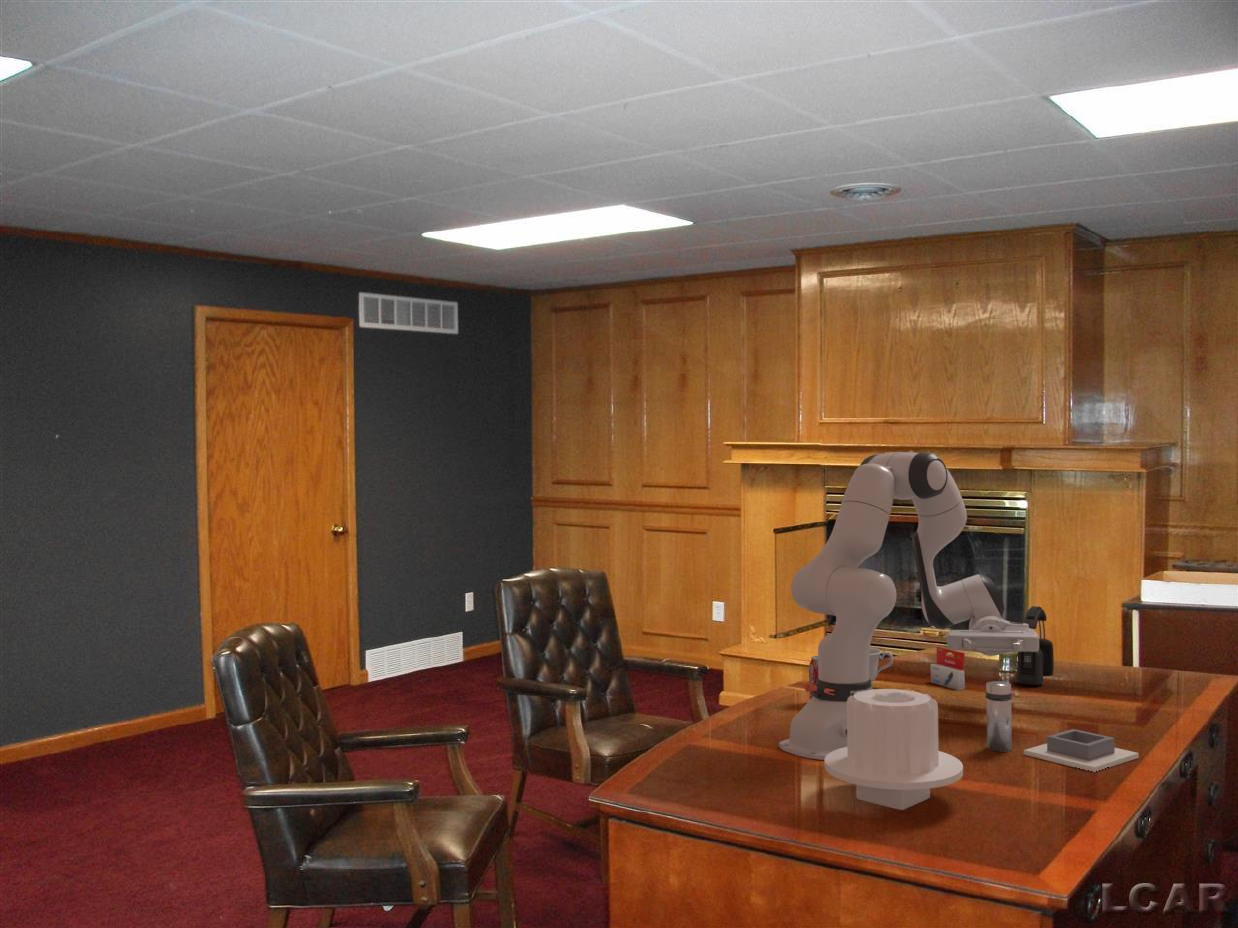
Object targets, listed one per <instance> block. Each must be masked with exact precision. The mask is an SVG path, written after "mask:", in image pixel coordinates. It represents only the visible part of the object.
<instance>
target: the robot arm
mask: <svg viewBox="0 0 1238 928" xmlns="http://www.w3.org/2000/svg"><path fill="white" fill-rule="evenodd" d="M894 500H900V501H903V500H904V501H907V500H909V501H910V500H912V503H913V506H914V509H915V511H916V514H917V517H918V525H917V529H916V531H914V532H913V534H912V539H911V540H912V548H913V554H914V555H913V557H914V560H915V567H916V572H917V573H916V574H917V579H918V582H919V583H918V584H919V587H920V593H921V609H922V613H923V615H924V618H925V620H926V622H927V623H928V625H929V626H932V627H934V628H936V629H940V630H945V629H948V628H950V627H953V626H955V625H956V624H960V623H963V622H966V621H969V625H968V629H952V630H949V631H947V633H946V634H945V635H944V639H945V640H946V647H947V648H946V649H949V650H953V651H977V652H978V653H981V654H982V655H985V656H988V657H994V656H999V655H1004V654H1008V653H1018V652H1024V651H1030V652H1037V651H1039V639H1040V635H1038V633H1037V632H1036V631H1035V629H1030V628H1029V625H1028V624H1026V623H1024V622H1017V621H1009V620H1006V619H1004V618H1003V615H1004V613H1005V605H1004V602H1003V601H1004V600H1003V598H1002V596H1001V594H1000V592H999V589H998V587H997V586H996V584H995V582H994V581H993V580H992V579H991V578H990V577H988V576H986V575H984V574H981V573H978V574H974V575H972V576H969V577H965V578H962V579H961V580H957V581H955V582H951V583H949V584H946V585H942V586H939V585H938V586H937V581H936V575H935V569H934V559H935V557H936V556H937V555H938V554H939V552H941V550H942V549H944V548H945V547H946V546H947V545H948V544H950V543H951V542H953V541H954V540H955V539H956V538H957V537H958V536H959V535H960V534H961V533H962V531H963V530H964V528H965V526H966V524H967V522H968V521H967V520H968V515H967V510H966V505H965V503H964V500H963V497H962V494H961V492H960V489H959V487H958V485H957V483H956V482H955V480H954V478H953V476H952V474H951V473H950V471H949V469H948V468H947V466H946V464H945V462H944V461H943V460H942V458H940V456H938V455H937V454H934V453H932V452H925V451H921V452H911V451H910V452H905V451H904V452H903V451H894V452H887V453H876V454H872V455H869V456H868V457H866V458H864V459H863V461H861V463H860V465H859V466H858V467H857V468H856V469H855V470H854V472H853V474H852V475H851V478H850V481H849V482H848V485H847V486H846V489H845V491H844V494H843V496H842V500H841V504H840V506H839V509H838V514H837V516H836V519H835V523H834V526H833V528H832V531H831V534H830V536H829V538H828V540H827V541H826V543H825V545H824V546H823V547H822V548H821V550H820V551H819V552H818V553H817V554H816V556H814V558H813V559H812V560H811V561H810V562H808V563H807V564H806V565H804V566H802V567H801V568H799V569H798V570H797V571H796V572H795V573H794V575H793V577H792V581H791V584H790V591H791V592H790V593H791V597H792V600H793V601H794V602H795V604H796V605H797V606H798V607H800V608H802V609H805V610H806V611H810V612H812V613H815V614H821V615H827V616H835V618H836V619H835V626H834V628H833V630H832V632H831V633H829V634H827V635H825V636H824V637H823V638H822V639H821V640H820V641H819V643H818V646H817V656H818V678H817V680H816V683H815V684H814V683H809V681H807V682H805V683H804V685H803V689H804V690H805V692H807V693H808V692H813V697H812V698H811V700H810V699H809V700H808V702H807V703H806V704H805V705H804V706H803V707H802V709H801V710H800V711H799V712H798V713H797V714H796V715H795V716H793V718H792V720H791V723H790V728H789V738H787V739H783V740H782V741H779V743H778V747H779V749H781V750H782V751H784V752H786V753H789V754H791V755H792V754H793V755H795V756H799V757H803V758H807V759H811V760H812V759H814V760H821V761H822V760H824V761H825V757H826V755H827V754H829V753H830V752H832V751H834V750H837V749H840V748H844V747H847V699H848V698H849V697H850V696H853V695H854V694H855V693H856V692H857V691H858V692H862V691H866V690H872V689H873V686H872V682H871V679H870V678H869V653H870V647H871V643H872V638H873V635H874V633H875V631H876V629H877V627H878V625H879V624H880V623H881V622H882V620H884V618H886V617H888V616H889V615H890V613H892V612H893V609H894V607H895V606H896V602H897V588H896V586H895V583H894V581H893V580H892V577H890V576H889V575H888V574H885V573H882V572H879V571H878V570H877V571H876V570H874V569H869V568H863V567H859V566H860V565H861V564H862V563H863V562H864V561H865V560H867V559H868V558H870V557H872V556H874V555H875V554H877V553H878V552H879V551H880V549H881V548H882V546H883V543H884V538H885V536H886V530H887V527H888V524H889V520H890V518H891V517H890V516H891V512H892V508H893V504H894Z"/></svg>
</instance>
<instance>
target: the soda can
mask: <svg viewBox="0 0 1238 928" xmlns="http://www.w3.org/2000/svg"><path fill="white" fill-rule="evenodd" d="M810 658H811V661H810V662H809V664H808V682H809V683H814V684H815V683H816V680H817V678H818V655H814V656H811V657H810ZM808 694H809V701H810V700H811V698H812V697H813V692H809V693H808Z"/></svg>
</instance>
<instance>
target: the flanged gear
mask: <svg viewBox="0 0 1238 928" xmlns="http://www.w3.org/2000/svg"><path fill="white" fill-rule="evenodd" d="M824 769H825V771H826V772H827V773H828V774H829V775H831V777H834V778H836V779H838V780H841V781H843V782H847V783H850V784H853V785H856V786H855V787H856V792H855V793H856V799H857V800H859V801H861V802H867V803H871V804H874V805H878V806H883V807H886V808H890V809H894V810H899V811H904V810H907V809H909V808H911V807H913V806H916V805H918V804H919V803H922V802H924V801H926V800H928V799H930V798H931V789H935V788H940V787H945V786H949V785H952V784H954V783H956V782H958V781H959V780H961V779H962V778H963V775H964V765H963V763H962V761H960V759H958V758H957V757H955V756H954V755H951V754H949V753H947V752H943V751H940V750H939V706H938V703H937V701H936V699H935V698H932V696H931V695H930V694H927V693H926V694H925V693H923V692H919V691H918V692H917V691H915V690H907V689H897V688H881V689H880V688H876V689H874V688H872V690H866V691H862V692H858V691H857V692H856V693H855V694H854V695H853V696H850V697H849V698H848V699H847V747H844V748H840V749H837V750H834V751H832V752H830V753H829V754H827V755H826V757H825V760H824Z"/></svg>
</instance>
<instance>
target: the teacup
mask: <svg viewBox="0 0 1238 928" xmlns="http://www.w3.org/2000/svg"><path fill="white" fill-rule="evenodd" d="M881 653H882V654H881ZM885 656H889V662H887V663H886V664H885V665H882V666H880V667H879V660H883V659H884V658H885ZM893 662H894V656H893V653H892V652H891V651H889V650H886V651H885V650H884V651H882V650H881V649H880V648H878V647H872V646H870V653H869V678H870V679H871V683H873V682H875V680H876V679H877V676H878V674H879V673H880V672H881V671H882V670H885V669H887V668H889V667H891V666H892V665H893Z"/></svg>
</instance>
